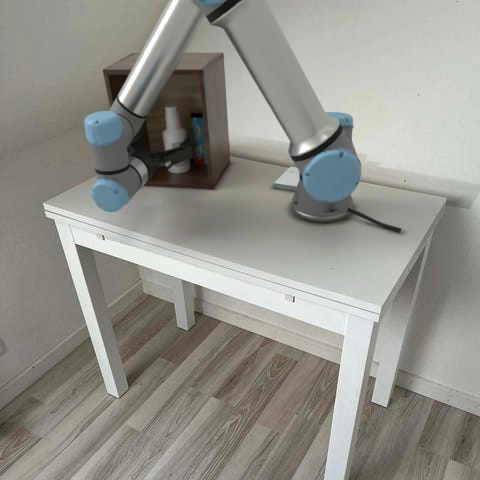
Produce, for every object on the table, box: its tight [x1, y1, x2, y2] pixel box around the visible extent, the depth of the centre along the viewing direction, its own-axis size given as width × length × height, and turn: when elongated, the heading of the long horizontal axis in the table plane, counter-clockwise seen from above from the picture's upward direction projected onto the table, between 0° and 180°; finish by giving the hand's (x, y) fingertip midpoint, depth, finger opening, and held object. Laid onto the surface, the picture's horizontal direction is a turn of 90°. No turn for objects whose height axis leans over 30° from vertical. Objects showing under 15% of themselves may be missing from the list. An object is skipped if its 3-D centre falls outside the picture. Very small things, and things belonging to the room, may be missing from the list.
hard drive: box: [272, 166, 300, 192], centre depth 137 cm, size 2×8×12 cm
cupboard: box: [101, 52, 231, 190], centre depth 136 cm, size 19×26×30 cm
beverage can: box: [190, 113, 207, 165], centre depth 145 cm, size 6×6×15 cm
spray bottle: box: [162, 104, 190, 173], centre depth 139 cm, size 7×7×18 cm
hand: (165, 140), depth 132 cm, fingers open, 13 cm apart
